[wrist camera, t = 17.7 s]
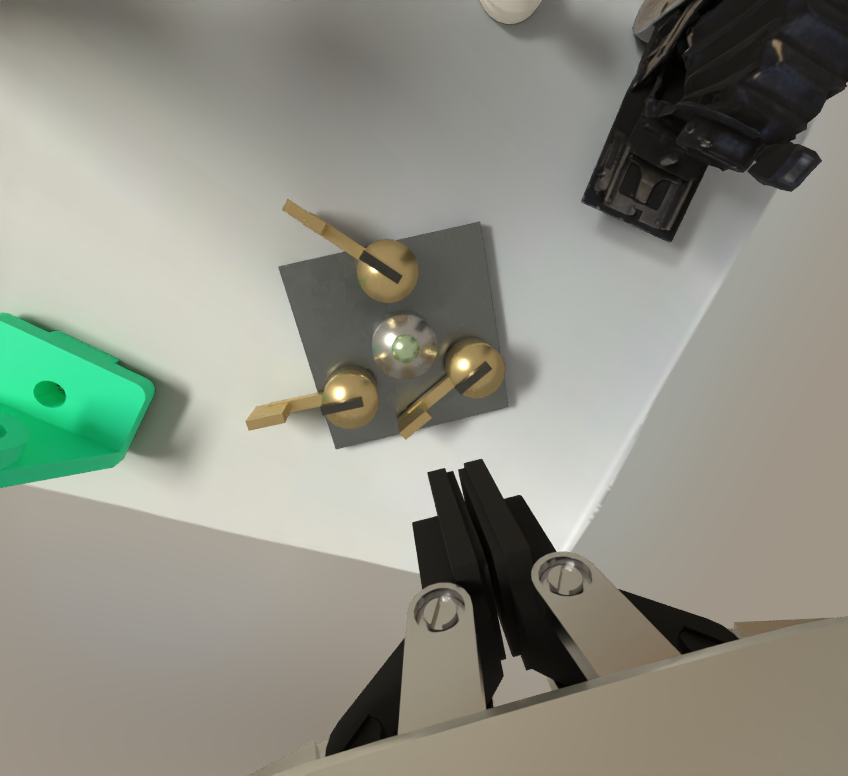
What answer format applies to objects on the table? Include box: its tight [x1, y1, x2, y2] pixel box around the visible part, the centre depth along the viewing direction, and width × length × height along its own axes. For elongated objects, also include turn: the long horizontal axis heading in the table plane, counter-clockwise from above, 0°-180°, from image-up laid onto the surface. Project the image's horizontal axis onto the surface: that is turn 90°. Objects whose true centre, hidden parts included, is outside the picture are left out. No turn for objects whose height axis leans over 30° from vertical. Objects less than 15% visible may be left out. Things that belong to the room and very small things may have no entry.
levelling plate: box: [279, 222, 508, 449], centre depth 34 cm, size 16×16×4 cm
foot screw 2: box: [246, 366, 378, 430], centre depth 34 cm, size 10×4×4 cm, turn 100°
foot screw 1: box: [282, 199, 418, 303], centre depth 30 cm, size 10×4×4 cm, turn 57°
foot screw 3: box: [397, 338, 505, 439], centre depth 35 cm, size 10×4×4 cm, turn 130°
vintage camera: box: [581, 0, 848, 243], centre depth 24 cm, size 10×15×20 cm, turn 160°
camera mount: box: [0, 313, 155, 488], centre depth 29 cm, size 12×8×10 cm, turn 58°
